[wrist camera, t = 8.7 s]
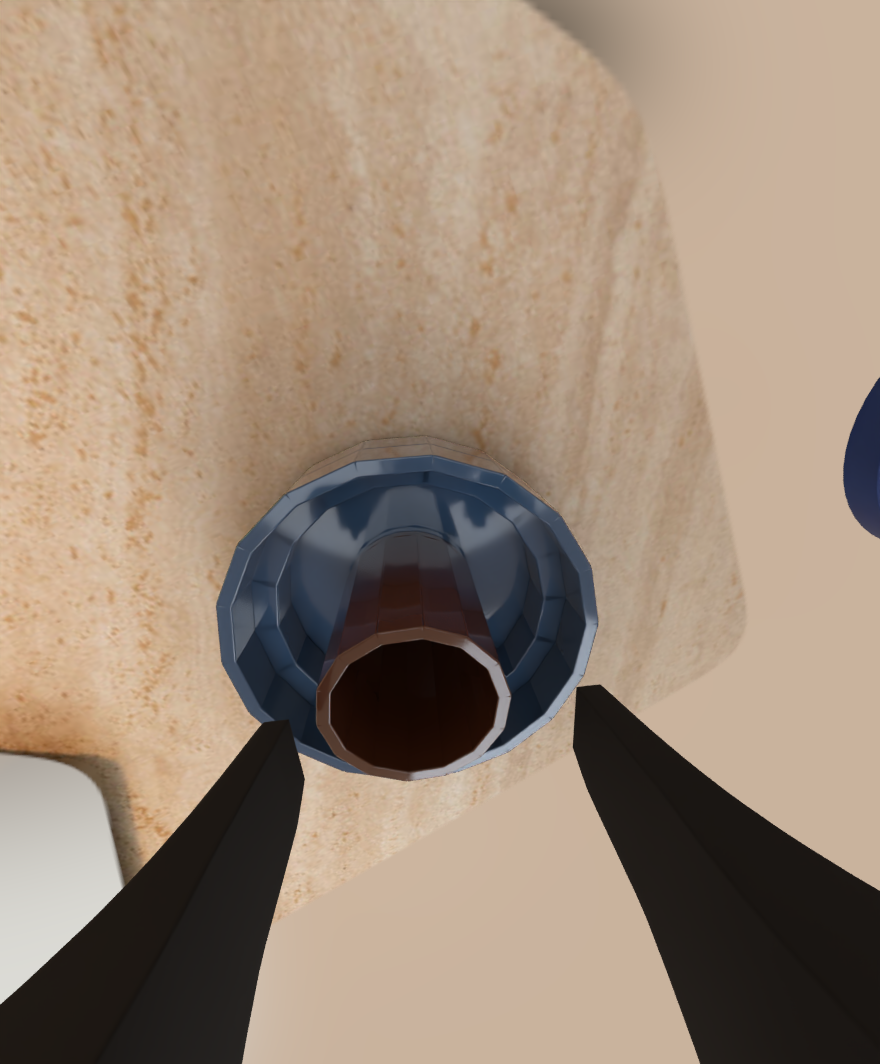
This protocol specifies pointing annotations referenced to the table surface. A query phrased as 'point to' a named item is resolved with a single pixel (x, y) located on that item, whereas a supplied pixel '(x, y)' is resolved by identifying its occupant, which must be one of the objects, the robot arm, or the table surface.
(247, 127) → the table surface
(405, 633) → the cup
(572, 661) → the bowl
